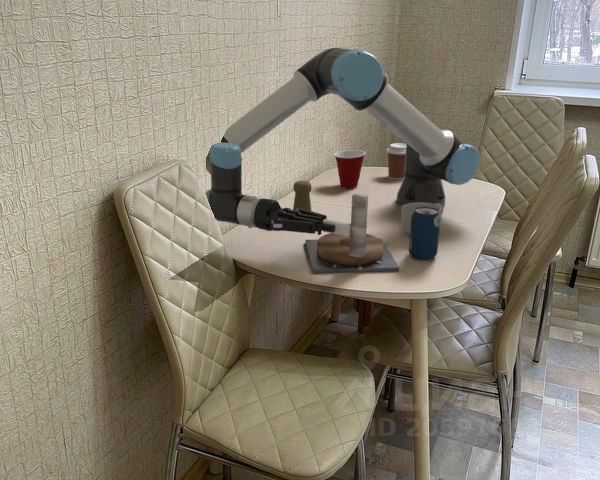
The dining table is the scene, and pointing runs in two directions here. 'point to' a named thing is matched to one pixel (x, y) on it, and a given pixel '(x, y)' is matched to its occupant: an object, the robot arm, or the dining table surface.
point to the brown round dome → (352, 239)
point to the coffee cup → (396, 161)
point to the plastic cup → (349, 167)
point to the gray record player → (324, 266)
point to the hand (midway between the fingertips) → (349, 230)
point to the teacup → (409, 210)
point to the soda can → (424, 233)
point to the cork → (302, 195)
